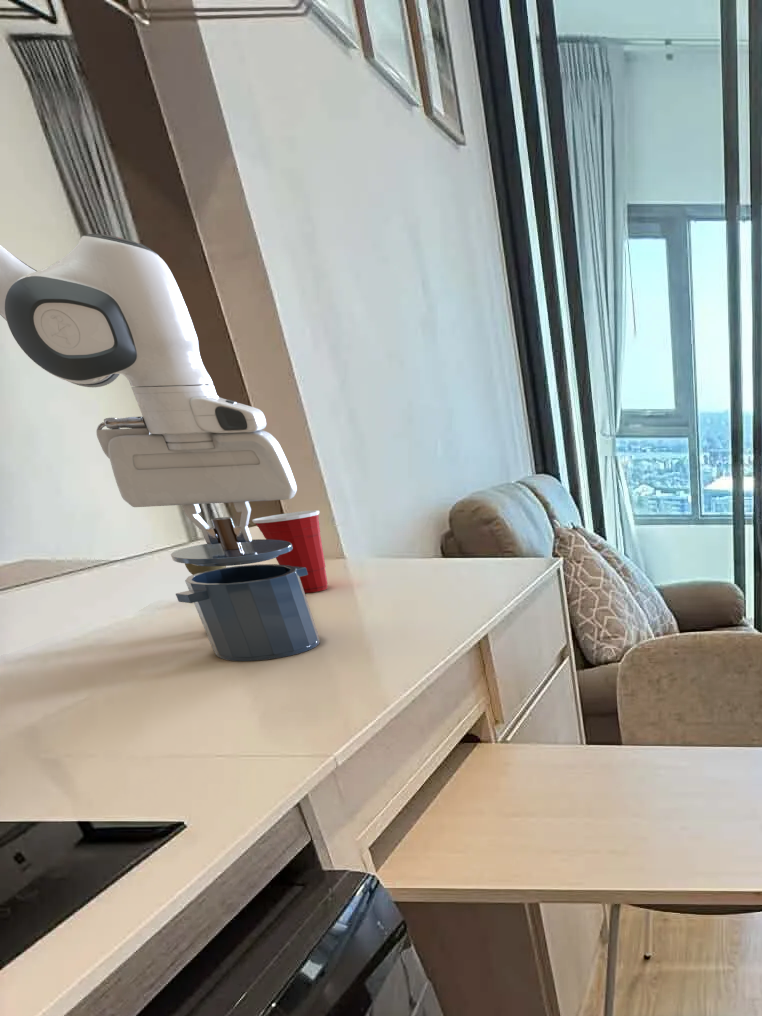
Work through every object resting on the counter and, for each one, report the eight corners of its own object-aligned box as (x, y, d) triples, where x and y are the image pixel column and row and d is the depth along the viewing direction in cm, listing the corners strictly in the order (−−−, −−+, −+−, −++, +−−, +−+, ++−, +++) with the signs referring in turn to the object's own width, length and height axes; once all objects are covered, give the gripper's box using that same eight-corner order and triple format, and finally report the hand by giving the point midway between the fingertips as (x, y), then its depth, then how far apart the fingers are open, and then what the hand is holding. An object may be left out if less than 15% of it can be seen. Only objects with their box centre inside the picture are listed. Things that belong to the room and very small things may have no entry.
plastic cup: (308, 581, 157) (284, 507, 149) (355, 585, 154) (332, 508, 146) (263, 594, 149) (235, 516, 141) (311, 598, 146) (285, 518, 138)
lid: (149, 565, 111) (132, 524, 108) (244, 546, 121) (230, 508, 118) (226, 572, 106) (210, 529, 103) (318, 552, 116) (305, 513, 113)
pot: (176, 660, 116) (143, 584, 110) (288, 627, 130) (264, 558, 124) (245, 670, 112) (215, 592, 106) (354, 635, 125) (332, 564, 119)
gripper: (80, 419, 99) (136, 551, 108) (267, 413, 103) (307, 541, 112) (98, 416, 104) (151, 543, 113) (276, 411, 108) (314, 534, 117)
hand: (230, 542), depth 112 cm, fingers closed on lid, 2 cm apart
